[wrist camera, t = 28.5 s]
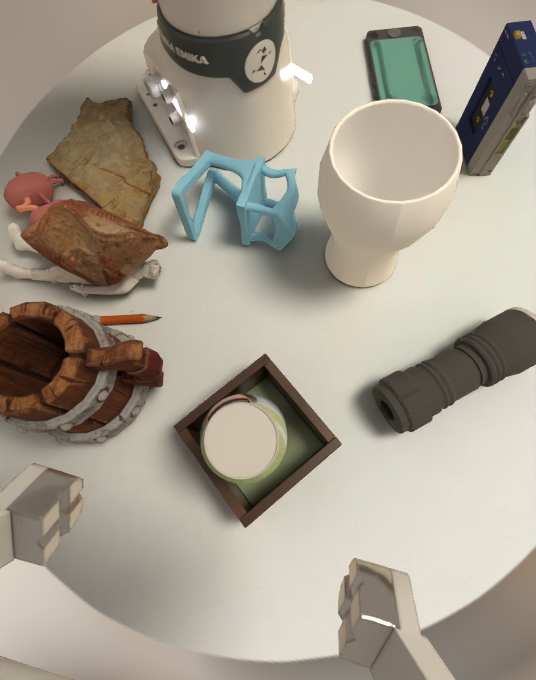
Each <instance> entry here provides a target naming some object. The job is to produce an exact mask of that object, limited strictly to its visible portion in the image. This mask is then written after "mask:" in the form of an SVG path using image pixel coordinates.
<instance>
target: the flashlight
mask: <svg viewBox="0 0 536 680" xmlns="http://www.w3.org/2000/svg"><path fill="white" fill-rule="evenodd" d="M535 364H536V315H535V314H533V313H532V312H530V311H528V310H526V309H523V308H519V307H513V308H510V309H508V310H506V311H504V312H502V313H500V314H499V315H497V316H495V317H493V318H491V319H489V320H487V321H486V322H484V323H482V324H481V325H480V326H479V327H478V328H477V329H476V330H475V331H474V332H473V333H469V334H467V335H466V336H463V337H462V338H460V339H458V340H457V341H456V342H455V344H454V348H453V349H448V350H446V351H445V352H443V353H441V354H439V355H437V356H435V357H434V358H432V359H430V360H428V361H423V362H421V363H420V364H417V365H416V366H415V368H414V367H411V368H409V369H407V370H405V371H403V372H402V371H396V372H394V373H392V374H391V375H389V376H387V377H385V378H383V379H381V380H380V381H379V385H378V386H376V387H374V388H373V395H374V398H375V401H376V403H377V405H378V407H379V409H380V411H381V412H382V414H383V415H384V417H385V418H386V420H387V421H388V423H389V424H390V425H391V426H392V427H393V428H394V429H395V430H396V431H397V432H398V433H401V434H402V433H404V432H406V431H409V432H413V431H415V430H417V429H418V428H420V427H422V426H424V425H425V424H427V423H429V422H431V421H432V416H434V415H436V414H438V413H439V412H441V410H442V409H446V408H447V407H448V406H451V405H453V404H454V402H455V401H456V400H458V399H460V398H462V397H463V396H465V395H467V394H469V393H470V392H472V391H474V390H476V389H478V388H479V386H480V385H481V386H485V387H489V386H492V385H494V384H496V383H498V382H499V381H501V380H503V379H504V378H505V377H507V376H511V375H515V374H519V373H521V372H523V371H525V370H527V369H528V368H530V367H532V366H534V365H535Z"/></svg>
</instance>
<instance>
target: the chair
mask: <svg viewBox="0 0 536 680" xmlns="http://www.w3.org/2000/svg"><path fill="white" fill-rule="evenodd" d="M211 165H213V166H217V167H220V168H223V169H226V170H229V171H231V172H234V173H236V174H237V175H239V176H240V177H241V179H242V188H241V190H239V189H238V188H237V187H236V186H235V185H233V184H232V183H231V182H230V181H229V180H228V179H227V178H225V177H224V176H223V175H222V174H221V173H220V172H219V171H217V170H214V169H211V168H210V169H209V171H208V173H207V176H206V179H205V182H204V186H203V189H202V192H201V196H200V200H199V203H198V207H197V210H196V214H195V218H194V221H193V222H192V219H191V216H190V213H189V210H188V207H187V204H186V201H185V198H184V194H185V192H186V191H187V190H188V189H189V188H190V187H191V186H192V185H193V184H194V183H195V182H196V181H197V180H198V179H199V178H200V177H201V176H202V175H203V173H204V172H205V171H206V170H207V169H208V168H209V167H210V166H211ZM295 174H296V169H284V170H273V169H271V168H269V167H267V166H266V165H265V158H264V157H260V156H257V157H256V159H254V160H250V161H243V160H238V159H234V158H230V157H226V156H223V155H219V154H216V153H213V152H210V151H207V150H206V151H205V152H204V153H203V155H202V156H201V157H200V159H199V160H198V161H197V162H196V163H195V164H194V166H193V167H192V168H191V169H190V170H189V171H188V172H187V173H186V174H185V175H184V176H183V177H182V178H181V180H180V181H179V182H178V183H177V184H176V186H175V187H174V188H173V190H172V197H173V200H174V202H175V205H176V208H177V210H178V213H179V216H180V218H181V221H182V224H183V226H184V229H185V232H186V234H187V237H188V239H191V240H194V241H196V240H197V239H198V237H199V234H200V231H201V228H202V225H203V221H204V218H205V214H206V211H207V208H208V204H209V201H210V197H211V194H212V191H213V188H214V185H215V183H216V184H218V185H219V186H220V187H221V188H222V189H223V190H224V191H226V192H227V193H228V194H229V195H230V196H231V197H232V198H233V199H234V200H235V201H236V202H237V203H236V210H237V215H238V218H239V221H240V226H241V241H242V244H243V245H247V246H250V243H251V241H252V240H260V241H263V242H265V243H267V244H269V245H270V246H272V247H274V248H276V249H277V250H279V251H280V250H282V249H283V248H284V247H285V246H286V245H287V244H288V243H289V242H290V241H291V240H292V239H293V237H294V235H295V232H296V229H297V222H296V217H295V213H294V210H295V208H296V205H297V202H298V189H297V184H296V179H295ZM265 176H267V177H270V178H279V177H283V176H286V179H287V191H286V193H285V195H284V196H283V198H282V199H281V200H280V201H279V202H277V201H274V200H271V199H268V198H267V193H266V186H265ZM268 207H270V208H268ZM261 214H266V215H270V216H271V218H272V220H273V223H274V228H275V233H274V238H273V240H272V239H270V238H269V237H268V236H266V235H265V234H263V233H259V232H255V229H256V226H257V223H258V221H259V218H260V216H261Z"/></svg>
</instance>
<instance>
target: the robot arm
mask: <svg viewBox="0 0 536 680" xmlns="http://www.w3.org/2000/svg"><path fill="white" fill-rule="evenodd" d="M156 2H157V16H158V20H157V24H158V28H157V29H156V30H155V31H154V32H153V33H152V34H151V35H150V37H149V38H148V40H147V41H146V43H145V46H144V51H143V52H144V57H145V60H146V63H147V66H148V70H147V71H146V72H145V73H144V74H143V76H142V77H141V78H140V80H139V82H138V84H137V89H138V92H139V95H140V97H141V99H142V100H143V102H144V104H145V106H146V108H147V109H148V111H149V113H150V115H151V116H152V118H153V120H154V122H155V123H156V125H157V127H158V129H159V131H160V132H161V134H162V136H163V138H164V139H165V141H166V143H167V145H168V147H169V148H170V150H171V152H172V154H173V155H174V157H175V159H176V161H177V162H178V164H180V165H181V166H194V164H195V163H196V162H197V161H198V160H199V159H200V157H201V156H202V155H203V153H204V152H205V151H206V150H207V151H210V152H213V153H216V154H219V155H223V156H226V157H230V158H234V159H238V160H243V161H250V160H254V159H256V157H257V156H260V157H264V158H265V161H267V160H269V159H271V158H272V157H274V156H275V155H277V154H278V153H279V152H280V151H281V150H282V149H283V148H284V147H285V146H286V145H287V144H288V142H289V141H290V139H291V137H292V135H293V133H294V130H295V126H296V114H295V107H294V105H295V101H296V98H297V96H298V93H299V84H298V80H297V79H296V78H295V77H293V76H292V73H293V74H295V75H296V76H298V77H300V78H301V79H303V80H305V81H306V82H308V83H311V82H312V75H311V74H309V73H307V72H306V71H304V70H302V69H301V68H299V67H297V66H296V65H294V64H292V63H291V55H290V45H289V36H288V31H287V28H286V27H285V26H284V17H285V3H284V0H152V3H156ZM181 149H183V150H181ZM212 166H213V165H212ZM216 167H217V166H216ZM82 489H83V479H82V478H79V477H76V476H73V475H70V474H67V473H64V472H61V471H58V470H54V469H51V468H48V467H45V466H42V465H38V464H35V463H33V464H31V465H29V466H27V467H26V468H25V469H24V470H23V471H22V472H21V473H20V474H19V475H18V476H17V477H15V478H14V479H13V480H12V481H11V482H10V483H9V484H8V485H7V486H6V487H5V488H4V489H3V490H1V491H0V568H1V567H3V566H5V565H6V564H8V563H10V562H11V561H13V560H14V558H15V559H19V560H23V561H27V562H30V563H34V564H37V565H41V566H44V565H45V563H46V562H47V561H48V560H49V558H50V557H51V556H52V554H53V553H54V552H55V550H56V549H57V548H58V546H59V537H60V536H62V535H64V534H66V533H68V532H70V530H71V529H72V528H73V526H74V525H75V523H76V522H77V519H78V517H79V515H80V513H81V510H82V506H83V498H82V496H81V495H80V493H79V492H80V491H81V490H82ZM338 614H339V616H340V617H341V619H342V621H343V622H342V624H341V626H340V628H339V630H338V635H339V658H341V659H344V660H347V661H349V662H352V663H355V664H358V665H361V666H364V667H367V668H370V669H371V670H370V672H371V674H372V676H373V678H374V680H455V678H454V677H453V675H452V674H451V672H450V671H449V669H448V668H447V666H446V665H445V664H444V662H443V661H442V659H441V658H440V656H439V655H438V653H437V652H436V650H435V649H434V647H433V646H432V644H431V643H430V642H429V640H428V639H427V638H426V637H424V636H421V632H420V627H419V622H418V617H417V612H416V607H415V602H414V597H413V592H412V587H411V582H410V577H409V576H408V574H407V573H404V572H401V571H398V570H394V569H391V568H388V567H385V566H381V565H378V564H374V563H371V562H367V561H364V560H360V559H356V558H354V559H353V560H352V561H351V563H350V565H349V575H347V576H344V579H343V581H342V584H341V588H340V592H339V600H338ZM0 680H72V679H69V678H66V677H63V676H60V675H57V674H54V673H51V672H47V671H45V670H41V669H39V668H35V667H32V666H29V665H26V664H23V663H20V662H17V661H14V660H11V659H8V658H5V657H1V656H0Z"/></svg>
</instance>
